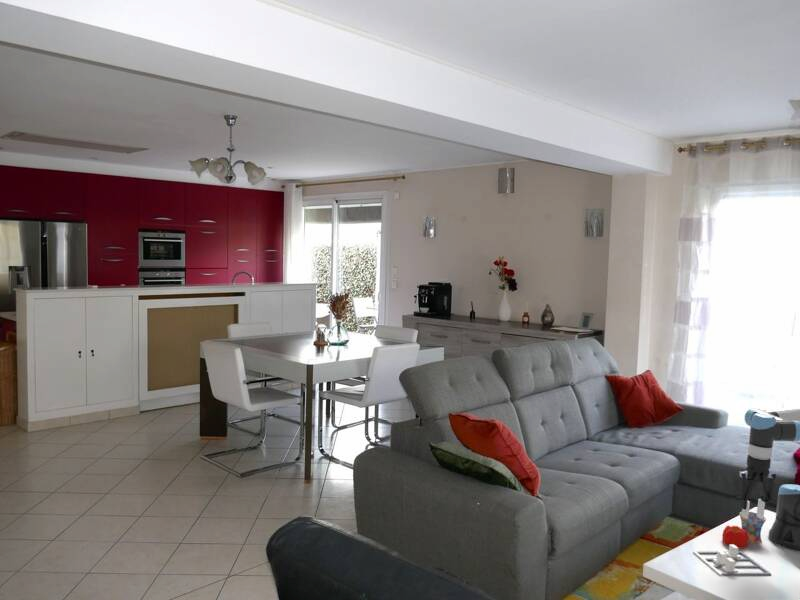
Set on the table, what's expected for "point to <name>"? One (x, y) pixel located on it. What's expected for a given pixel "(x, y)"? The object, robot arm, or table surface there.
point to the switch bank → (735, 565)
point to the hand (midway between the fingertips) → (752, 517)
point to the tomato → (735, 536)
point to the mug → (753, 526)
